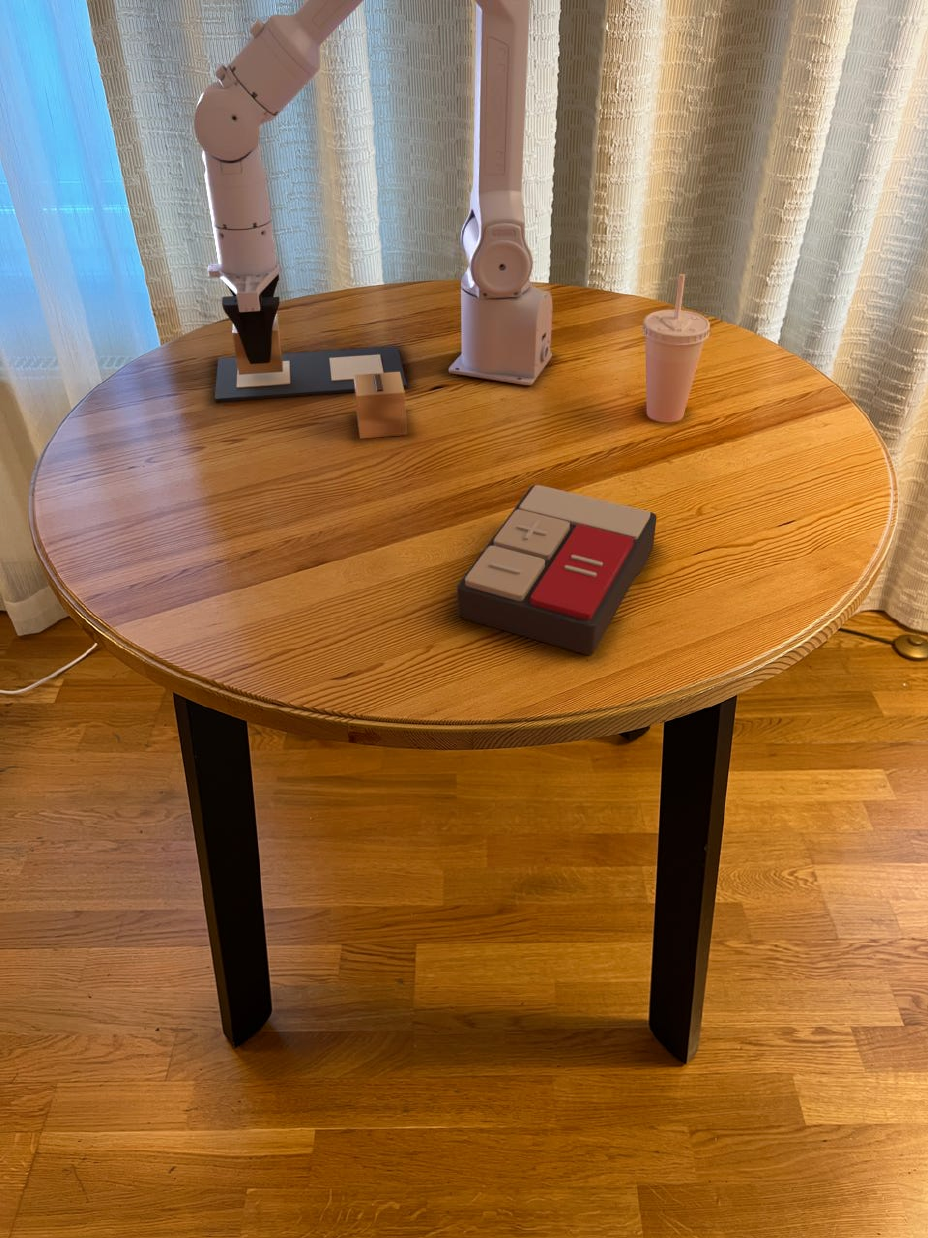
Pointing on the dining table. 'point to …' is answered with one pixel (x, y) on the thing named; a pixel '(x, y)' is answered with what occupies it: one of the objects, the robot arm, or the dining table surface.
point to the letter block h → (271, 367)
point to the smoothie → (672, 358)
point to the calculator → (558, 568)
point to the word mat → (306, 374)
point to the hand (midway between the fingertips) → (260, 351)
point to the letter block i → (380, 405)
